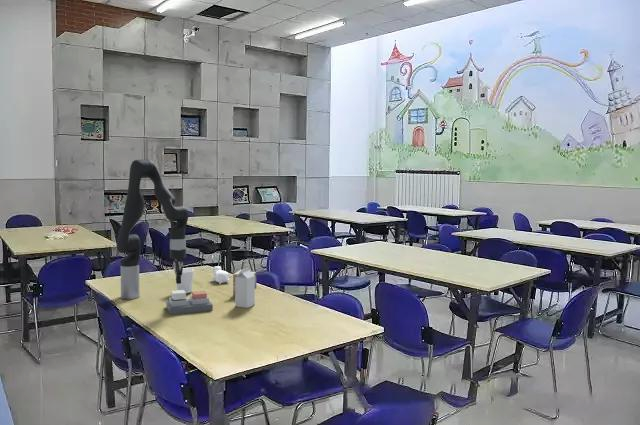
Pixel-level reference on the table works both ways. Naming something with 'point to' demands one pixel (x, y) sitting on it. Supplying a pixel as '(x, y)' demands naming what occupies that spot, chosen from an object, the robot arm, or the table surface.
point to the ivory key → (178, 294)
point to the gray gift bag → (234, 280)
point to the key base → (188, 305)
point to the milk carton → (245, 289)
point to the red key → (199, 295)
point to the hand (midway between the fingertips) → (178, 283)
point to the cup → (186, 280)
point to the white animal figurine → (220, 275)
